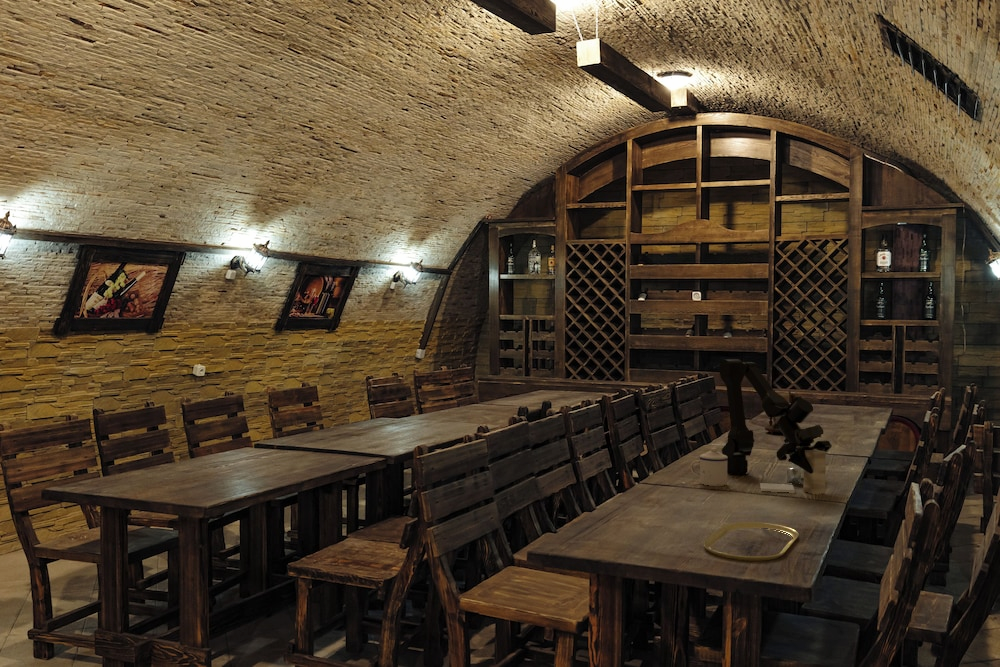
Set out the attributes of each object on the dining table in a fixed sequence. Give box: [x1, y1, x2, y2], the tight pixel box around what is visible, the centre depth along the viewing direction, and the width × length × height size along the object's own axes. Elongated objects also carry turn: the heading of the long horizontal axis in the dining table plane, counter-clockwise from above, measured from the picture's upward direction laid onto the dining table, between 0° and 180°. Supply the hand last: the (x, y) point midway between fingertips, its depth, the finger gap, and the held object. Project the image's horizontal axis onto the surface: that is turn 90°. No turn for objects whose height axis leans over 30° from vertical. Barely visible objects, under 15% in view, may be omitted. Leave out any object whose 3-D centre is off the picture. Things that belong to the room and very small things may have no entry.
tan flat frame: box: [703, 521, 800, 562], centre depth 223 cm, size 19×35×2 cm, turn 152°
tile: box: [759, 482, 796, 494], centre depth 288 cm, size 10×9×1 cm
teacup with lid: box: [690, 447, 728, 487], centre depth 297 cm, size 12×9×12 cm
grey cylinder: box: [786, 466, 802, 485], centre depth 299 cm, size 4×4×5 cm
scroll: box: [764, 389, 796, 435], centre depth 416 cm, size 15×15×20 cm
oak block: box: [802, 450, 827, 495], centre depth 284 cm, size 4×4×13 cm
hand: (817, 472), depth 283 cm, fingers closed on oak block, 4 cm apart
